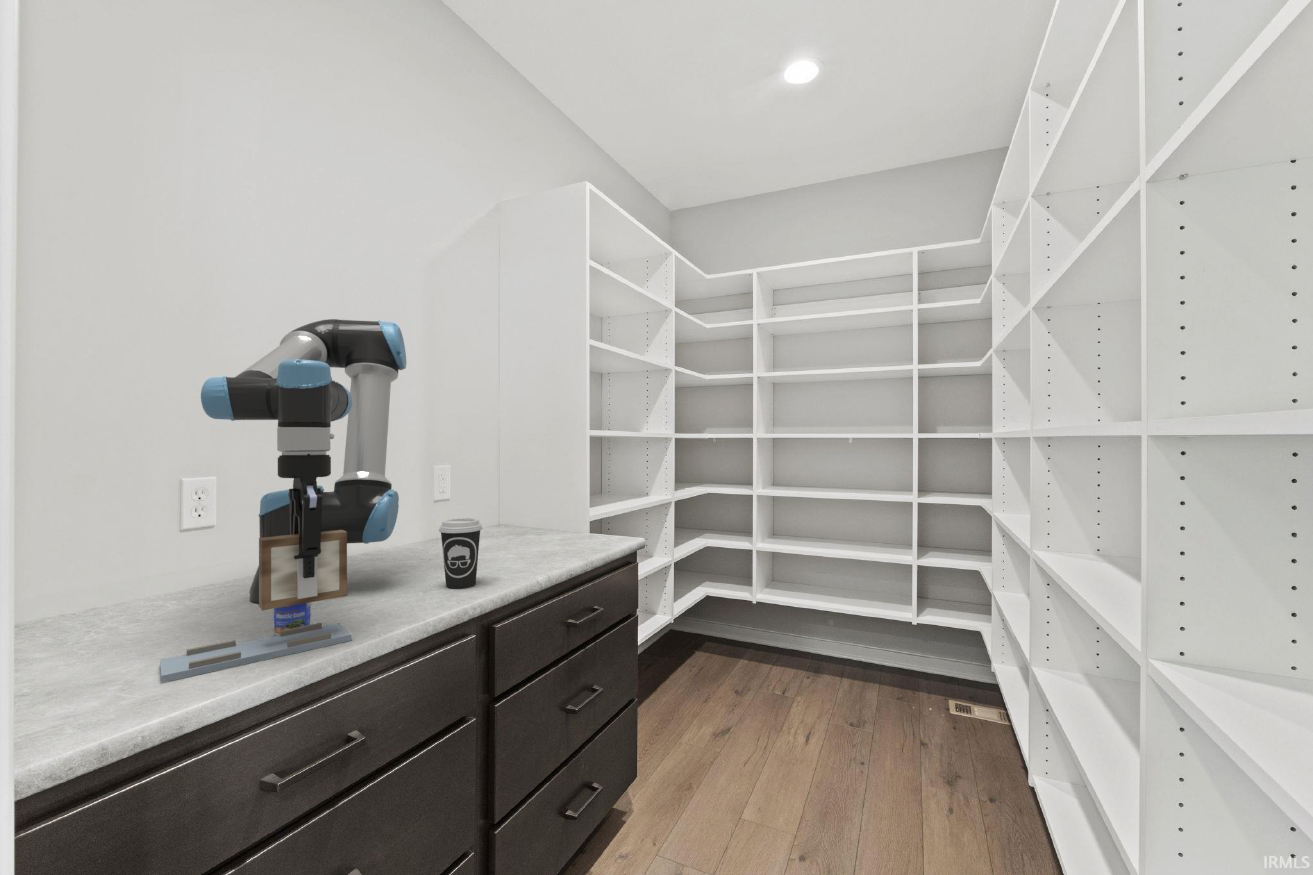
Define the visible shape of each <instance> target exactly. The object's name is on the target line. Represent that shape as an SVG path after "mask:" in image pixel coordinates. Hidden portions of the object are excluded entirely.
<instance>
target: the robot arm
mask: <svg viewBox="0 0 1313 875" xmlns="http://www.w3.org/2000/svg"><path fill="white" fill-rule="evenodd" d="M406 367H407V352H406V346H405V342H404V335H403V332H402V330H401V328H400V326H399V325H398V324H397V323H395V322H391V321H390V322H389V321H382V320H377V321H375V320H374V321H373V320H353V319H352V320H351V319H335V318H330V319H322V320H317V321H314V322H310V323H307V324H304V325H302V326H300V327H297V328H295V329H293V330H291V331H289V332H288V333H287V334H285V335H284V336H283V337H282V338H281V340H280V342H279V345H278V346H277V347H276V348H274V349H273V350H271V351H270V352H268V353H267V354H266V355H264V356H263V357H261V358H260V359H259V360H258V361H256V362H254V363H253V364H251V365H250V366H249V367H247V368H246V369H244V370H243V371H241V372H240V373H239V374H237V375H236V376H235V377H234V376H233V377H230V376H221V377H220V376H219V377H217V376H216V377H210V378H208V379H207V380H206V381H205V382H204V383H203V385H202V387H201V392H200V401H201V405H202V409H203V411H204V413H205V414H206V415H207V416H208V417H209V418H211V419H214V420H226V421H227V420H229V421H277V428H276V432H277V433H276V434H277V435H276V436H277V437H276V438H277V439H276V444H277V445H276V447H277V449H276V450H277V452H279V453H280V452H281V455H278V457H277V476H278V477H279V478H280V479H293V480H292V488H289V489H284V490H278V491H272V492H268V493H266V494H264V495H262V497H261V499H260V502H259V513H258V518H259V538H263V537H274V536H284V535H294V534H299V555H295V556H294V559H297V598H298V599H301V598H307V597H313V596H317V556H318V554H320V553H321V532H324V531H334V530H344V531H346V532H347V544H366V545H367V544H370V543H377V542H383V541H384V542H385V541H386V540H388V539H389V538H390V537H391V536H392V534H393V532H394V529H395V526H396V522H397V519H398V514H399V508H400V506H399V502H400V501H399V500H400V497H399V493H398V491H397V490H394V489H392V482H391V481H390V480H389V479H388V478H387V477H386V464H387V451H388V448H387V446H388V433H389V420H390V418H389V417H390V401H391V386H392V383H393V382H394V381H395V380H397V379H398V376H399V371H403V370H406ZM331 368H335V369H336V368H339V369H341V368H342V369H344V373H345V375H347V377H349V379H350V390H348V388H346V387H345V386H344V385H342V383H340V382H338V381H335V380H333V377H332V374H331V373H332V372H331ZM344 417H347V424H346V436H345V446H344V447H345V449H344V458H343V460H344V461H343V472H342V473H343V474H342V475H341V477H340V478H338V479H337V480H336V481H335V482H334V486H333V487H334V488H333V491H325V489H324V487H323V485H318V482H317V478H325V477H329V476H330V475H331V474H332V473H331V472H332V457H331V456H330V455H331V454H327V452H330V451H331V440H333V439H335V434H334V433H331V428H332V427H331V426H332V424H331V423H332V422H335V421H338V420H341V419H343V418H344ZM249 601H250V602H252V603H256V604H259V565H258V566H257V569H256V571H255V574H254V577H253V581H252V582H251V585H250V588H249Z"/></svg>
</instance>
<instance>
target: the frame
mask: <svg viewBox="0 0 1313 875" xmlns="http://www.w3.org/2000/svg"><path fill="white" fill-rule="evenodd" d="M295 555H299V534H294V535H284V536H274V537H263V538H260V537H259V538H258V566H259V603H258V607H259V609H260V610H261V611H268V610H274V608H280V607H286V606H292V605H298V604H303V603H309V602H310V603H313V602H314V603H315V602H321V601H325V600H326V601H327V600H332V599H338V598H342V597H344V598H345V597H348V543H347V532H346V531H344V530H334V531H324V532H321V553H320V554H318V556H317V596H313V597H307V598H301V599H298V598H297V559H294V556H295Z"/></svg>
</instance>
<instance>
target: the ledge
mask: <svg viewBox="0 0 1313 875" xmlns="http://www.w3.org/2000/svg"><path fill="white" fill-rule="evenodd" d="M350 641H353V640H352V633H351V632H350V631H349V630H347V628H346V627H344V626H343V625H342V624H341V623H340V622H338V623H333V624H328V625H323V624H322V622H318V623H312V624H310V625H307V626H302V627H297V628H292V629H287V630H281V631H280V635H278V636H276V635H273V636H269V637H265V638H264V637H263V638H258V639H254V640H248V641H244V642H238V643H237V640H236V639H233V640H226V641H220V642H217V643H212V644H211V643H210V644H206V645H202V646H197V647H196V646H195V647H191V648H186V653H184V654H180V655H174V656H170V657H165V658H160V664H159V666H160V681H161V682H160V683H161V684H163V683H167V682H172V681H176V680H181V679H185V678H190V677H194V676H199V675H204V674H208V673H211V672H216V671H217V672H218V671H222V670H226V669H230V668H235V667H239V666H243V665H249V664H252V663H253V664H254V663H258V662H262V661H266V660H270V659H275V658H279V657H284V656H287V655H292V654H296V653H297V654H298V653H303V652H306V651H311V650H316V649H319V648H323V647H328V646H332V645H338V644H342V643H347V642H350Z"/></svg>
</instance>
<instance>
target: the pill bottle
mask: <svg viewBox="0 0 1313 875" xmlns="http://www.w3.org/2000/svg"><path fill="white" fill-rule="evenodd" d="M307 625H311V602H309V603H303V604H298V605H292V606H286V607H280V608H274V609H273V634H274V635H273V636H278V635H280V631H281V630H287V629H292V628H297V627H302V626H307Z"/></svg>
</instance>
